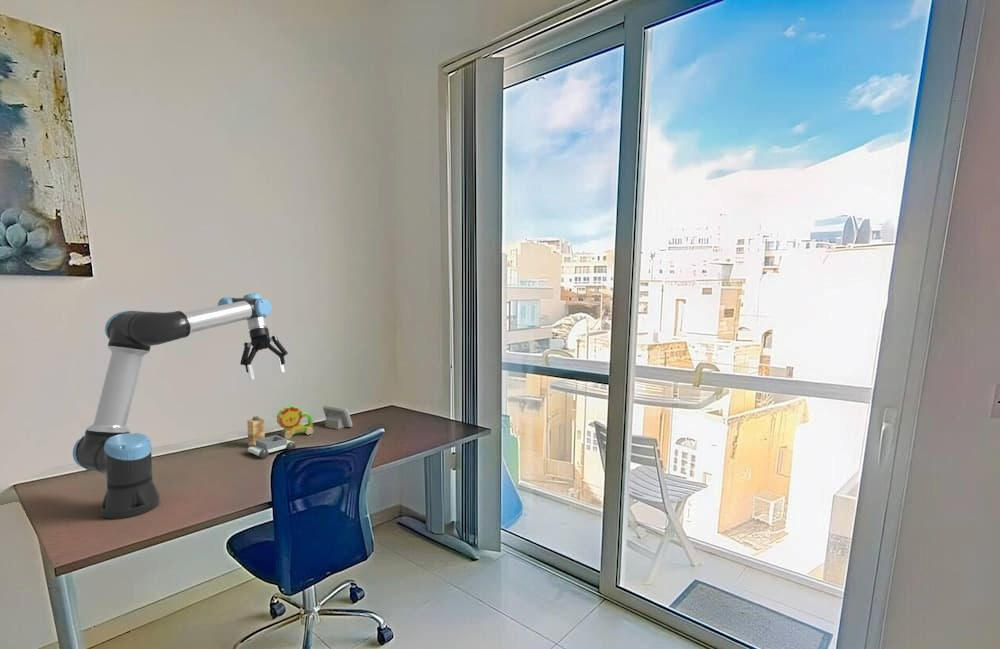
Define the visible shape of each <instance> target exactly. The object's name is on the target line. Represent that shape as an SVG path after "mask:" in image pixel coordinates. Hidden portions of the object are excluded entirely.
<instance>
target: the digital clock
mask: <svg viewBox="0 0 1000 649" xmlns="http://www.w3.org/2000/svg"><path fill="white" fill-rule="evenodd" d="M322 409H323V413H324V415H325V428H326V427H329V428H328V429H331V428H335V429H334V430H337V429H340V428H342V427H345V428H347V427H351V428H353V422H352V419H351V415H350V413H349V410H348V409H347V408H344V407H338V406H332V405H324V406H323V407H322ZM340 430H341V429H340Z"/></svg>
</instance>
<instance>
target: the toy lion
mask: <svg viewBox="0 0 1000 649" xmlns="http://www.w3.org/2000/svg"><path fill="white" fill-rule="evenodd" d="M303 418H307V420H308V424H307V425H304V424H303V423H301V420H302V419H303ZM276 422H277V424H278V425H279V427H280V428H282V429H283V430H282V431H281V437H282V436H283V438H286V439H287V440H290V439H291V438H293V436H294V435H296V434H298V433H305V434H306V435H308V436H310V435H309V434H311V435H312V434H314V428H313V427H314V426H313V425H314V424H313V418H312V416H311V415H310V414H309V413H307V412H305V411H304V412H303V411H302V409H300V408H299V407H298V406H294V405H288V406H285V407H284V408H282V409H280V410H279V412H278V413H277V415H276Z"/></svg>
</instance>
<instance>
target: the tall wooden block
mask: <svg viewBox="0 0 1000 649" xmlns="http://www.w3.org/2000/svg"><path fill="white" fill-rule="evenodd" d="M265 435H266V434H265V419H263V418H261V417H259V416H257V415H256V416H253V417H252V418H250V419H247V446H248V447H249V446H250V445H255V446H256V440H258V439H262V438H266V436H265Z"/></svg>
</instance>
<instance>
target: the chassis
mask: <svg viewBox="0 0 1000 649" xmlns="http://www.w3.org/2000/svg"><path fill="white" fill-rule="evenodd" d="M292 448H294V449H296V443H295V441H292V440H290V439H286V438H285V437H282V436H279V435H277V434H274V435H271V436H267V437H266V436H265V438H262V439H258V440H256V446H255V445H250V446H248V447H247V448H246V450H247V453H249V454H251V453H252V454H253V455H255V456H258V457H259V458H260V459H263V458H264V459H266V458H268V456H269V454H270V453H273V452H277V451H280V450H284V449H286V450H287V449H292Z"/></svg>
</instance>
